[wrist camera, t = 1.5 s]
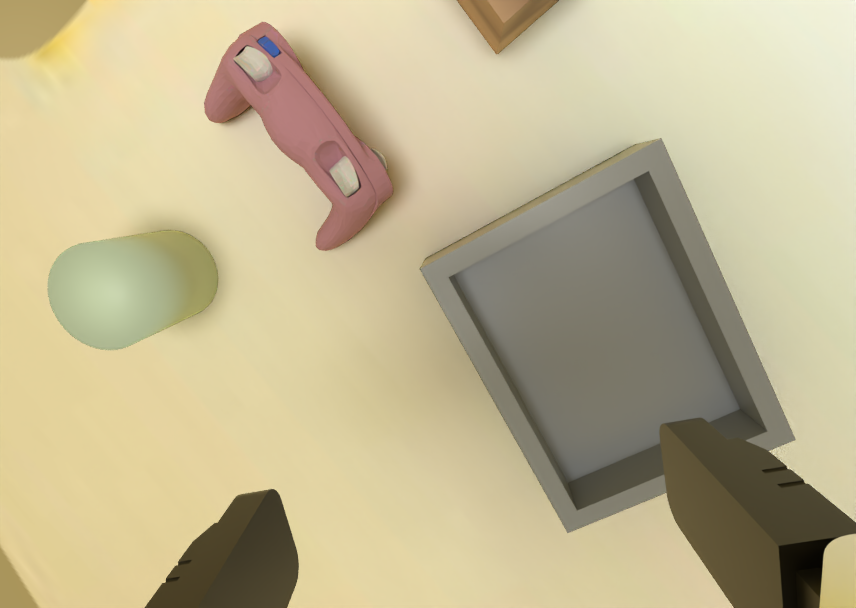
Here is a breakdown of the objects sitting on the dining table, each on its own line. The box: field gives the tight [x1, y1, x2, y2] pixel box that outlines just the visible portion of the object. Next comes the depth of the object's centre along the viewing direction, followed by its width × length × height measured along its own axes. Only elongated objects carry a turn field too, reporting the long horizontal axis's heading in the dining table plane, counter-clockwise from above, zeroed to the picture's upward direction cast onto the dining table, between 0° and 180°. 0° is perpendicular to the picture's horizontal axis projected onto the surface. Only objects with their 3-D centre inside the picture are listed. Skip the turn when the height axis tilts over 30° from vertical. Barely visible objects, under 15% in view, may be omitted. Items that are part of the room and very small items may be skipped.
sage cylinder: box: [48, 230, 218, 350], centre depth 26 cm, size 5×5×6 cm
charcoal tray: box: [420, 138, 796, 533], centre depth 26 cm, size 12×16×4 cm
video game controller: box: [204, 22, 393, 251], centre depth 24 cm, size 10×5×7 cm, turn 39°
